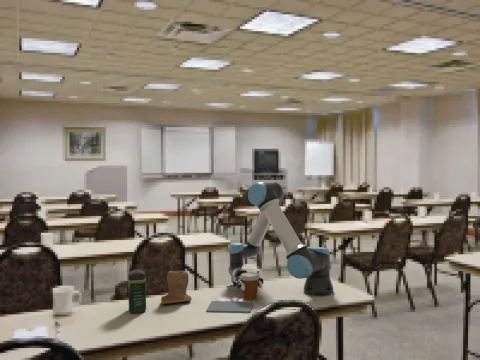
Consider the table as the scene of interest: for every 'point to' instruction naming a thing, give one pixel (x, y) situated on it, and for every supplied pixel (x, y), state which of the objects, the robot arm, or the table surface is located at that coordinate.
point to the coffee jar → (137, 291)
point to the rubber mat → (230, 306)
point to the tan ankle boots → (176, 287)
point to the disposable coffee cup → (250, 285)
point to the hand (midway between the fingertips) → (252, 286)
